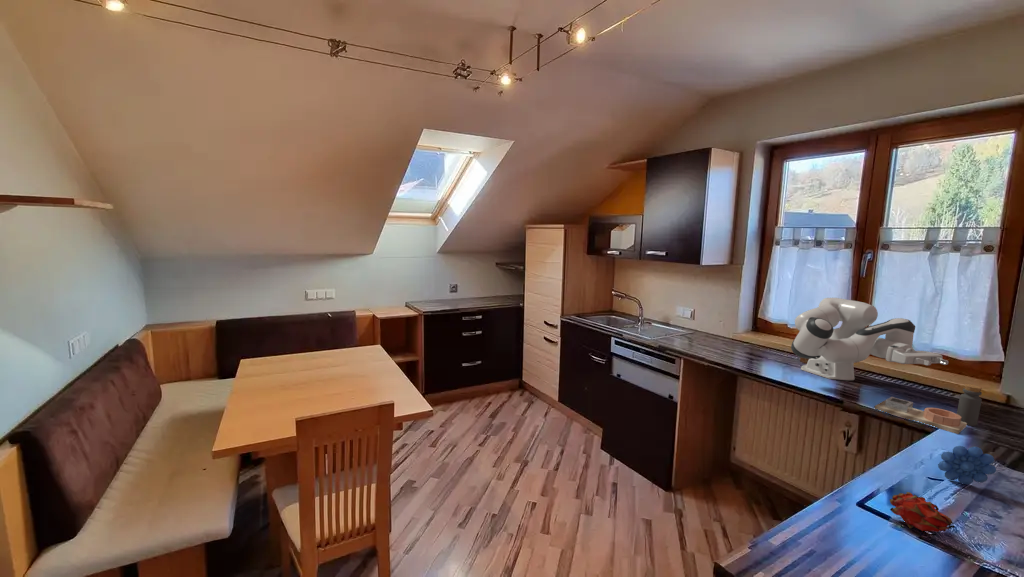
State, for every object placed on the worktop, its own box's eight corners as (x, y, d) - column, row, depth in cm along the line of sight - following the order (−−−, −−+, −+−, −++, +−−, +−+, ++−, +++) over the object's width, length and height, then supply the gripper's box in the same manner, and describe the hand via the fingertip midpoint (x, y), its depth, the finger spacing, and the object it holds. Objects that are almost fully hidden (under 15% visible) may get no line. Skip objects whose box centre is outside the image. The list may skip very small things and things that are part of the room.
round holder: (920, 418, 172) (921, 410, 171) (927, 412, 177) (929, 405, 177) (955, 428, 163) (957, 420, 163) (962, 422, 169) (964, 415, 169)
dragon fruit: (882, 516, 115) (943, 549, 107) (882, 511, 110) (947, 545, 101) (895, 487, 117) (957, 517, 108) (896, 480, 111) (962, 511, 102)
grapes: (987, 484, 129) (995, 446, 128) (993, 495, 124) (1002, 455, 122) (933, 470, 136) (940, 433, 134) (937, 480, 131) (944, 442, 129)
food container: (800, 358, 253) (802, 341, 252) (813, 360, 249) (815, 343, 248) (794, 362, 245) (797, 344, 243) (807, 365, 241) (810, 347, 239)
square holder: (884, 406, 182) (885, 399, 181) (890, 403, 186) (891, 396, 185) (906, 413, 176) (907, 406, 176) (912, 409, 180) (913, 402, 180)
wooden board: (874, 409, 183) (874, 405, 182) (884, 403, 189) (885, 400, 189) (958, 434, 162) (958, 430, 162) (966, 426, 169) (967, 423, 169)
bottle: (980, 427, 169) (988, 389, 167) (962, 425, 170) (970, 387, 168) (968, 420, 175) (976, 384, 173) (951, 418, 176) (958, 382, 174)
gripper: (918, 359, 197) (955, 370, 184) (883, 360, 192) (918, 371, 179) (921, 346, 196) (958, 355, 183) (885, 346, 192) (921, 356, 178)
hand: (938, 363), depth 181 cm, fingers open, 8 cm apart
